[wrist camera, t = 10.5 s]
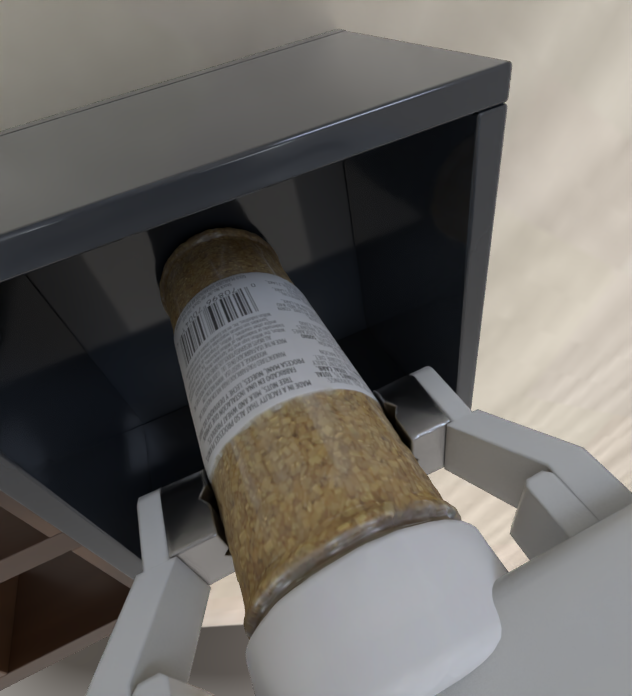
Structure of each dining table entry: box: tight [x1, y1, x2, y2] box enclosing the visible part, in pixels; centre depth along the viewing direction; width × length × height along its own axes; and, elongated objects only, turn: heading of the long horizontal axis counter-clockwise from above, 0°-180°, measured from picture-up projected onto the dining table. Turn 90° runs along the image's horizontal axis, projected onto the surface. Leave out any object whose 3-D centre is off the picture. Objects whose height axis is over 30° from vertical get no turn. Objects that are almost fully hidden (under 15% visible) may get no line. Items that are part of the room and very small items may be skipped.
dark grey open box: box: [0, 29, 512, 580], centre depth 14 cm, size 12×12×8 cm
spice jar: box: [160, 227, 509, 696], centre depth 11 cm, size 5×5×13 cm
